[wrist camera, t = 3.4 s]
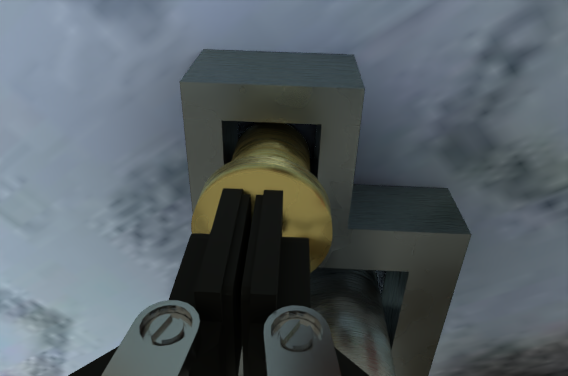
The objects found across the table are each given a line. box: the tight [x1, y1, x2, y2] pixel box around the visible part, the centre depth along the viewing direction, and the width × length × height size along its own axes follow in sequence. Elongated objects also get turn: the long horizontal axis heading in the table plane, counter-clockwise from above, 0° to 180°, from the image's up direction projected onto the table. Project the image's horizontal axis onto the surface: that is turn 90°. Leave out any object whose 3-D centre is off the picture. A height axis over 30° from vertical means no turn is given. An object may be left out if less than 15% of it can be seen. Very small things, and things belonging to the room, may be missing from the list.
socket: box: [180, 49, 471, 376], centre depth 20 cm, size 11×16×4 cm
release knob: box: [191, 122, 332, 273], centre depth 15 cm, size 4×4×5 cm
